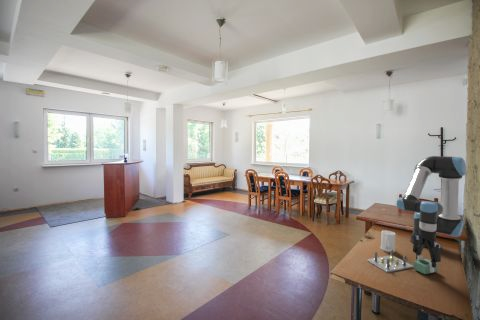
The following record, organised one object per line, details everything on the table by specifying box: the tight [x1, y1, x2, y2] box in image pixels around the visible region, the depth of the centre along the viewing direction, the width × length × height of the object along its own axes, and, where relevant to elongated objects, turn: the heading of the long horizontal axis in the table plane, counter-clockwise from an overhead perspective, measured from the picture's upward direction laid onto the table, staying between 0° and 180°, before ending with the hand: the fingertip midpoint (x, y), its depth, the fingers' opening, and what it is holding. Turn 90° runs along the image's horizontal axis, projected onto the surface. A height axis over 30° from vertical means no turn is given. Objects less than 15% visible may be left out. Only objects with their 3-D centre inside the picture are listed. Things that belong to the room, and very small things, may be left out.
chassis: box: [366, 250, 414, 274], centre depth 141 cm, size 20×14×6 cm
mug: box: [379, 229, 396, 253], centre depth 159 cm, size 12×8×12 cm
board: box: [413, 258, 439, 275], centre depth 133 cm, size 10×6×5 cm, turn 108°
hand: (425, 268), depth 133 cm, fingers closed on board, 6 cm apart
